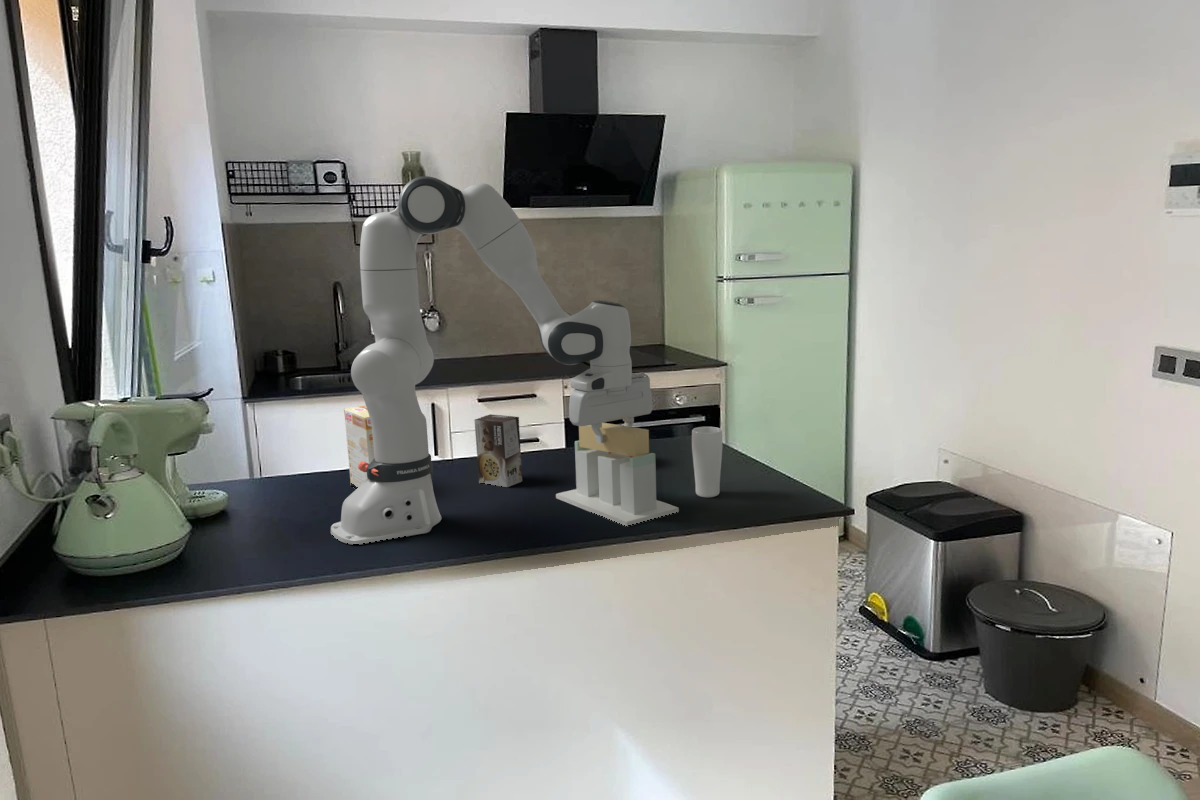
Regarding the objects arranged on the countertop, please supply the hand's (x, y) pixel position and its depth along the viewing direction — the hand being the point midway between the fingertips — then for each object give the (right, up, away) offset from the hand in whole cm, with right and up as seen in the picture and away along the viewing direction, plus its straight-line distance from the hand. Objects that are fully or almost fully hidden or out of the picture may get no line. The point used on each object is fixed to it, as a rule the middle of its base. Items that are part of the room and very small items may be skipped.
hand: (613, 440), depth 186 cm
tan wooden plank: (0, -2, 0) cm, 2 cm away
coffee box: (-27, -12, +23) cm, 38 cm away
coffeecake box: (-57, -13, +20) cm, 62 cm away
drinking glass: (+21, -13, +8) cm, 26 cm away
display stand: (0, -14, +3) cm, 15 cm away
